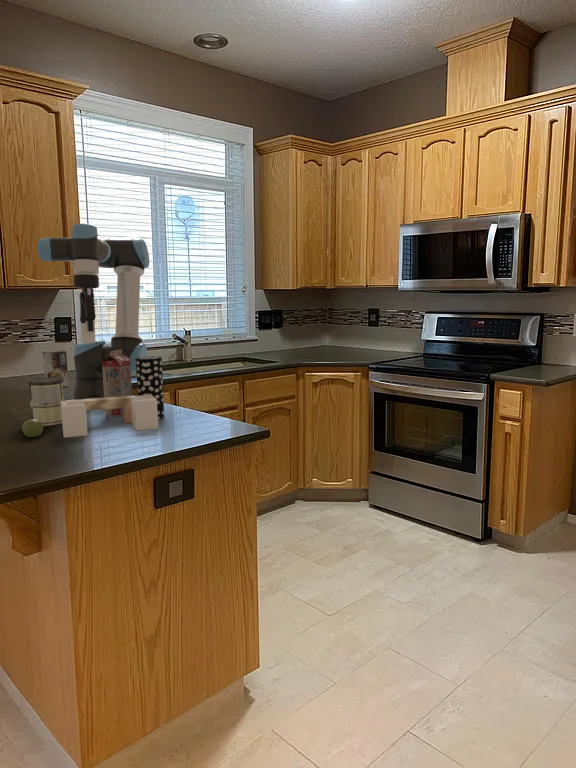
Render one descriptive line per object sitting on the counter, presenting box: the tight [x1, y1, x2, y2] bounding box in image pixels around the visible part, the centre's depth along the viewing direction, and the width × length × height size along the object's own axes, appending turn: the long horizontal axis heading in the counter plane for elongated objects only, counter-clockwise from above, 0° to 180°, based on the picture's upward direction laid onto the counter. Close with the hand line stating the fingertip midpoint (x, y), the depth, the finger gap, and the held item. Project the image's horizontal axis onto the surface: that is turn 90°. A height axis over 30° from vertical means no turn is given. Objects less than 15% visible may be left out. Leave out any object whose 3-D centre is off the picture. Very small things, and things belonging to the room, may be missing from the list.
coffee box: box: [42, 349, 70, 388], centre depth 263 cm, size 9×6×16 cm
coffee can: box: [27, 377, 65, 427], centre depth 188 cm, size 10×10×14 cm
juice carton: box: [102, 349, 133, 417], centre depth 200 cm, size 7×7×22 cm
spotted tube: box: [136, 355, 165, 420], centre depth 194 cm, size 8×8×20 cm
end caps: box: [61, 395, 159, 438], centre depth 177 cm, size 27×10×9 cm, turn 113°
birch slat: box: [65, 396, 131, 412], centre depth 186 cm, size 20×4×3 cm, turn 113°
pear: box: [21, 418, 44, 438], centre depth 172 cm, size 6×5×10 cm
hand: (88, 343), depth 184 cm, fingers open, 13 cm apart
